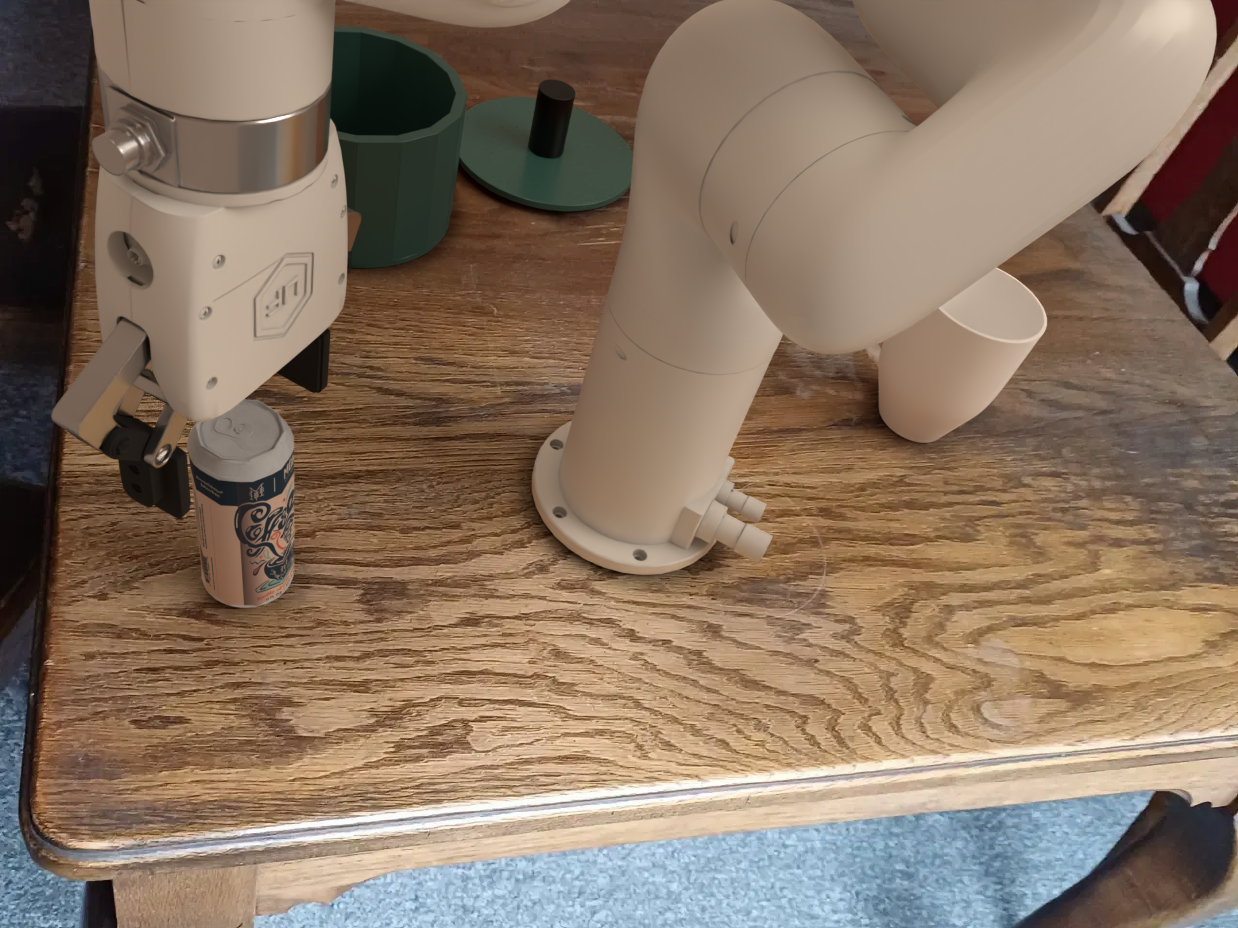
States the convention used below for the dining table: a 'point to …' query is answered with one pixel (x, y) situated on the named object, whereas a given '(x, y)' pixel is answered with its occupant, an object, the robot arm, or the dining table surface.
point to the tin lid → (545, 151)
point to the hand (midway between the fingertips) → (231, 435)
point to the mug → (956, 357)
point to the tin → (395, 142)
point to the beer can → (244, 503)
